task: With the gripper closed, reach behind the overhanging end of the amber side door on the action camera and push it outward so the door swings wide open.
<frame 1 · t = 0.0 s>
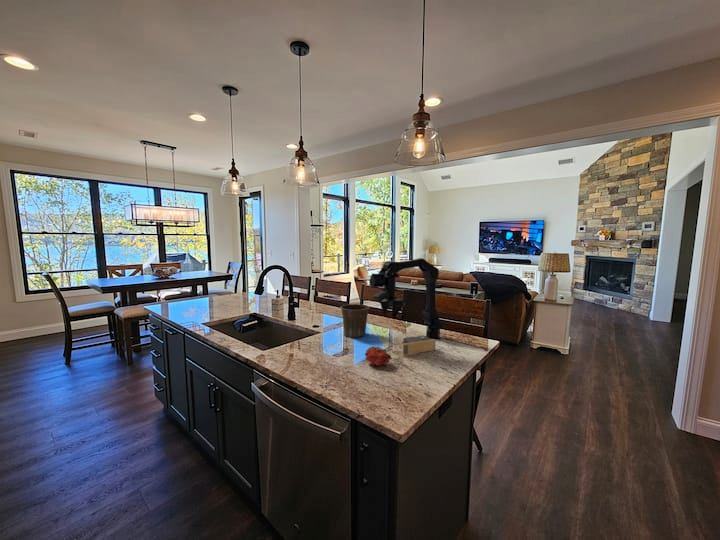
hand: (389, 316, 151), 15 cm above the worktop, fingers open, 9 cm apart
dragon fruit: (377, 365, 127), on the worktop
plant pot: (354, 334, 168), on the worktop
side door: (419, 346, 141), point 3 cm above the worktop, hinge at 0.0°
action camera body: (417, 348, 146), on the worktop
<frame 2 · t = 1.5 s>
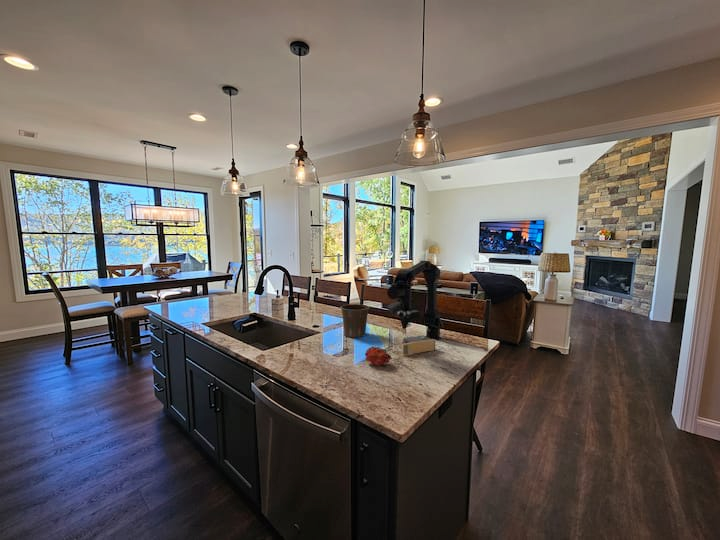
hand: (404, 328, 141), 11 cm above the worktop, fingers closed
nothing on the worktop moved.
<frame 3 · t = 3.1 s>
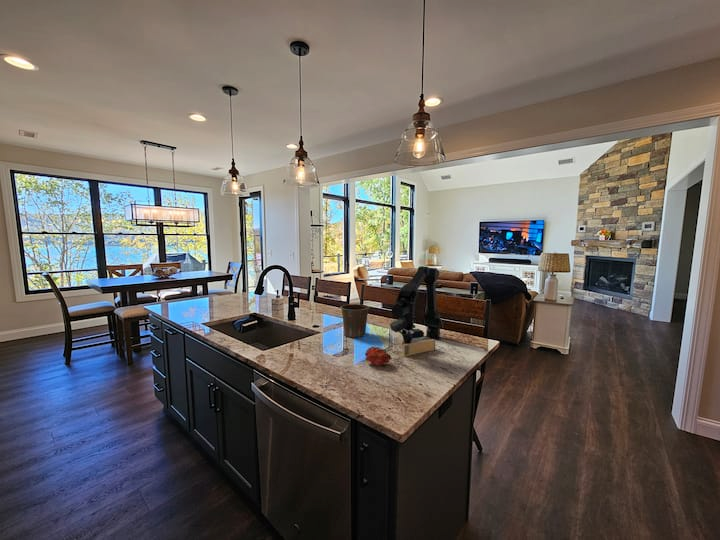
hand: (406, 346, 139), 4 cm above the worktop, fingers closed
side door: (419, 347, 140), point 3 cm above the worktop, hinge at 2.4°, touching gripper
everything else where it was.
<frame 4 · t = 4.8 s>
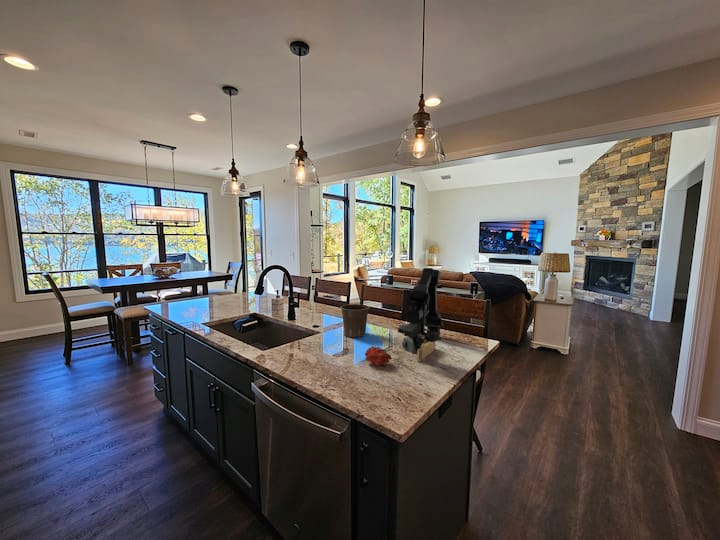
hand: (417, 351, 133), 4 cm above the worktop, fingers closed
side door: (426, 349, 137), point 3 cm above the worktop, hinge at 29.7°, touching gripper
everything else where it was.
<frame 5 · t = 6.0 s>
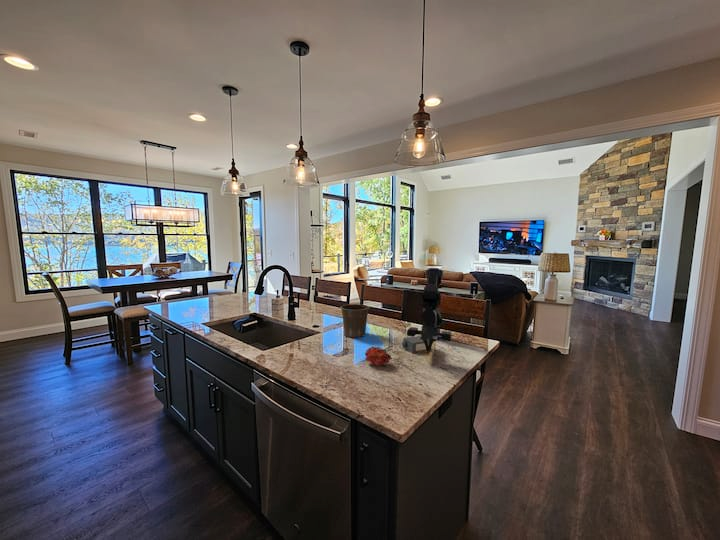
hand: (428, 352, 131), 4 cm above the worktop, fingers closed
side door: (432, 350, 136), point 3 cm above the worktop, hinge at 47.9°, touching gripper
everything else where it was.
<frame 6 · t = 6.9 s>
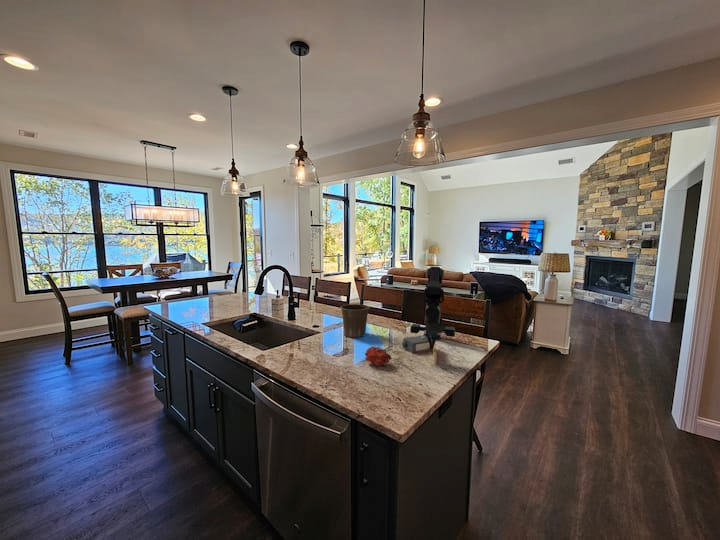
hand: (431, 348, 131), 6 cm above the worktop, fingers closed
side door: (434, 350, 136), point 3 cm above the worktop, hinge at 53.5°
everything else where it was.
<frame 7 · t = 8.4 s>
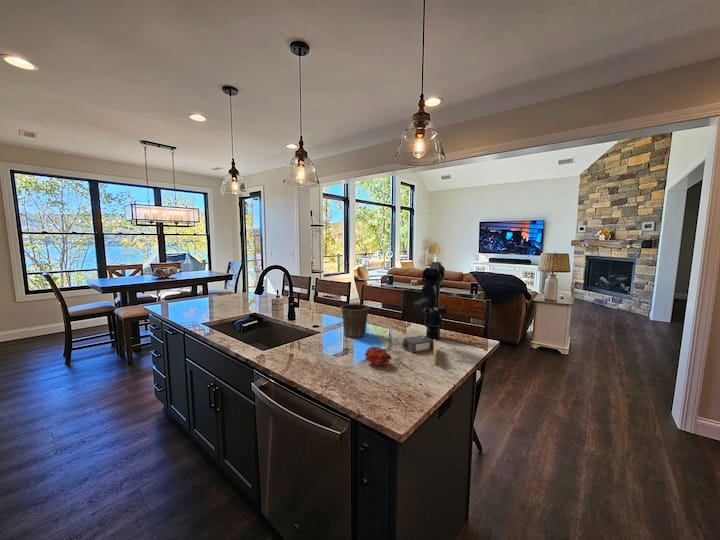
hand: (429, 324, 147), 12 cm above the worktop, fingers closed
nothing on the worktop moved.
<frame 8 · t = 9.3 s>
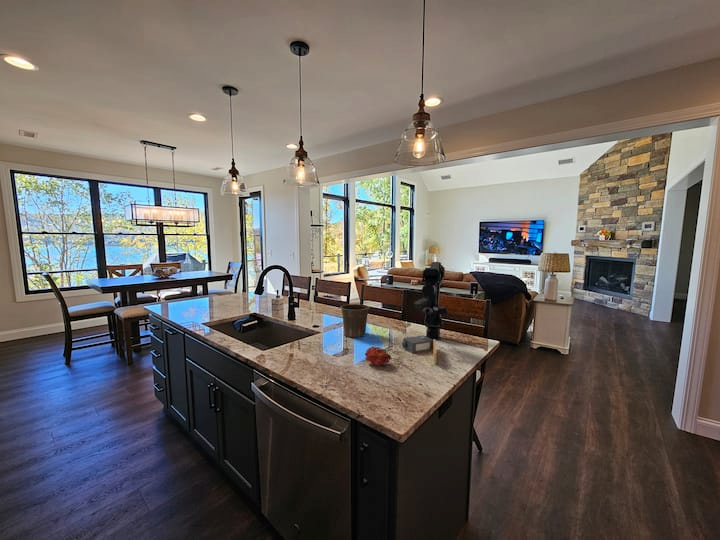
hand: (429, 324, 147), 12 cm above the worktop, fingers closed
nothing on the worktop moved.
at the end: side door at +54° (first picture: +0°) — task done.
